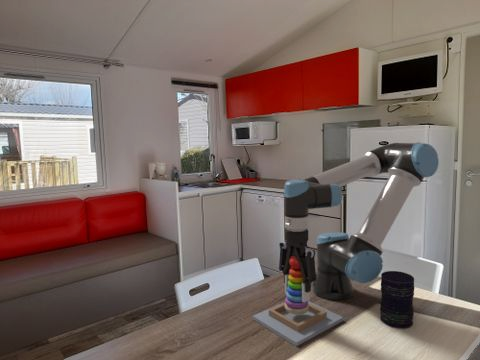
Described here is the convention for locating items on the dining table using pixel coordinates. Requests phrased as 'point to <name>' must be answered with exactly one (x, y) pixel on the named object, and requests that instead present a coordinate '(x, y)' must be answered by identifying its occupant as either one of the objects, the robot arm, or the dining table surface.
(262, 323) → the baseplate
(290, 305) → the stacking toy
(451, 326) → the dining table surface
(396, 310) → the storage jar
